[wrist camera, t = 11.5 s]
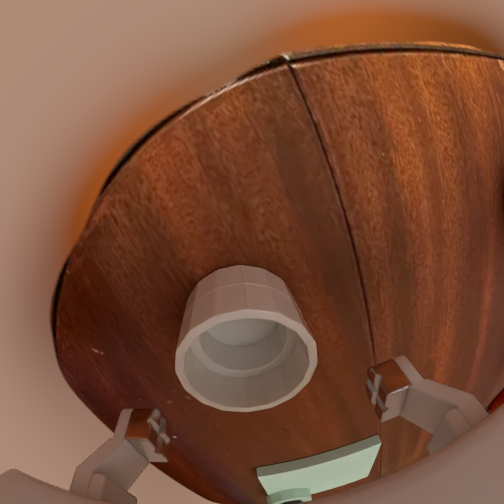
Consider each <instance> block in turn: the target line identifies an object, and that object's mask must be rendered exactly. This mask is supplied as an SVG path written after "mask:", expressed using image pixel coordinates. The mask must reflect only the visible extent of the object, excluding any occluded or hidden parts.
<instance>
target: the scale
mask: <svg viewBox="0 0 504 504" xmlns="http://www.w3.org/2000/svg"><path fill="white" fill-rule="evenodd" d="M380 445H381V441H380V439H379V437H378V435H375V436H372V437H370V438H367V439H364V440H362V441H359V442H356V443H353V444H350V445H347V446H344V447H341V448H338V449H335V450H332V451H329V452H325V453H322V454H318V455H314V456H311V457H307V458H303V459H298V460H294V461H289V462H285V463H280V464H274V465H269V466H263V467H257V468H256V470H257V477H258V479H259V480H260V482H261V484H262V486H263V487H264V489H265V491H266V492H267V494H268V497H267V504H281V503H284V502H288V501H293V500H301V503H302V502H306V501H311V500H312V498H311V494H314V493H318V492H321V491H325V490H329V489H332V488H335V487H339V486H342V485H345V484H348V483H351V482H354V481H356V480H359V479H362V478H365V477H367V476H368V474H369V472H370V470H371V468H372V465H373V463H374V460H375V458H376V456H377V453H378V451H379V448H380Z"/></svg>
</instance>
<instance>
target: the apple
mask: <svg viewBox="0 0 504 504" xmlns="http://www.w3.org/2000/svg"><path fill="white" fill-rule="evenodd" d="M503 403H504V391H502V392H501V393H500V394H499V395H498V396H497V397H496V399H495V400H494V401H493V403H492V405H491V411H490V414H491V413H492V412H494V411H495V410H496V409H497V408H498V407H500V406H501V405H502V404H503Z"/></svg>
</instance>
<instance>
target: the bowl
mask: <svg viewBox="0 0 504 504" xmlns="http://www.w3.org/2000/svg"><path fill="white" fill-rule="evenodd" d="M316 366H317V348H316V342H315V340H314V338H313V336H312V334H311V332H310V329H309V327H308V325H307V323H306V321H305V319H304V317H303V315H302V313H301V311H300V309H299V307H298V305H297V303H296V300H295V298H294V296H293V294H292V293H291V291H290V290H289V289H288V287H287V286H286V284H285V283H284V281H282V279H281V278H279V277H277V276H276V275H274V274H272V273H271V272H269V271H267V270H266V269H263V268H258V267H251V266H245V265H241V266H240V265H236V266H232V267H227V268H222V269H218V270H216V271H214V272H213V273H211V274H210V275H208V276H207V277H205V278H204V279H202V280H201V281H199V283H197V285H196V286H195V288H194V290H193V291H192V293H191V294H190V296H189V297H188V300H187V303H186V308H185V312H184V316H183V321H182V325H181V329H180V334H179V338H178V343H177V348H176V358H175V372H176V374H177V376H178V378H179V380H180V382H181V384H182V386H183V387H184V389H185V390H186V391H187V392H189V393H190V394H191V395H192V396H194V397H195V398H196V399H197V400H199V401H200V402H202V403H204V404H206V405H209V406H212V407H215V408H217V409H220V410H224V411H236V412H252V411H257V410H263V409H268V408H271V407H274V406H276V405H278V404H280V403H283V402H285V401H287V400H289V399H291V398H292V397H294V396H295V395H296V394H297V393H298V392H299V391H300V390H301V389H302V388H303V387H305V386H306V385H307V384H308V383H309V381H310V379H311V377H312V375H313V372H314V370H315V368H316Z"/></svg>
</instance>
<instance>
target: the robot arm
mask: <svg viewBox="0 0 504 504" xmlns="http://www.w3.org/2000/svg"><path fill="white" fill-rule="evenodd" d="M367 375H368V377H369V379H368V380H367V381H366V393H367V396H368V398H369V400H370V402H371V403H372V404H375V405H376V407H375V412H376V414H377V416H378V418H379V420H380V422H384V421H386V420H389V419H391V418H394V417H396V416H399V415H400V416H401V417H403V418H405V419H406V420H408V421H410V422H412V423H413V424H415V425H417V426H419V427H420V428H422V429H424V430H426V431H428V432H429V433H431V434H433V436H432V438H431V439H430V441H429V443H428V445H427V449H428V451H429V453H430V455H428V456H426V457H425V458H423V459H421V460H419V461H417V462H415V463H413V464H411V465H409V466H407V467H405V468H403V469H401V470H399V471H396V472H394V473H392V474H390V475H387V476H385V477H383V478H380V479H378V480H375V481H372V482H370V483H367V484H364V485H362V486H359V487H356V488H353V489H350V490H347V491H344V492H341V493H337V494H334V495H330V496H327V497H323V498H319V499H315V500H311V501H306V502H302V503H297V504H504V403H503V404H502V405H501V406H500V407H498V408H497V409H496V410H495V411H494V412H492V413H491V414H490V415H489V414H488V413H487V412H486V410H485V409H484V408H483V406H482V405H481V404H480V403H479V401H478V400H477V399H476V398H475V396H474V395H473V394H470V393H467V392H464V391H461V390H458V389H455V388H452V387H449V386H446V385H443V384H440V383H438V382H435V381H432V380H429V379H425V380H424V379H423V378H422V377H421V376H420V374H419V373H418V372H417V370H416V369H415V368H414V367H413V365H412V364H411V363H410V361H409V360H408V359H407V358H406V356H404V355H400V356H398V357H395V358H393V359H390V360H387V361H385V362H382V363H380V364H377V365H374V366H372V367H369V368H368V370H367ZM161 415H162V413H161V412H160V411H159V410H158V409H123V410H122V411H121V413H120V417H119V420H118V423H117V426H116V429H115V432H114V436H113V438H110V439H109V440H107V441H106V442H105V443H104V444H103V445H102V446H101V447H99V448H98V449H97V450H96V451H95V452H94V453H93V454H92V455H90V456H89V457H88V458H87V459H86V460H85V461H84V462H82V463H81V464H80V465H79V466H78V467H77V468H76V470H75V473H74V476H73V480H72V483H71V486H70V490H69V491H68V490H65V489H62V488H59V487H57V486H54V485H51V484H49V483H46V482H43V481H41V480H38V479H36V478H34V477H32V476H29V475H27V474H25V473H23V472H21V471H19V470H17V469H10V470H8V471H6V472H5V473H3V474H1V475H0V504H137V499H136V497H135V496H133V495H132V494H130V493H128V492H127V490H128V489H129V488H130V487H131V486H132V484H133V483H134V482H135V480H136V479H137V478H138V477H139V476H140V474H141V473H142V472H143V470H144V469H145V468H146V467H147V465H148V464H149V462H168V457H169V448H168V446H167V444H168V443H169V442H170V441H171V428H170V426H169V423H168V422H167V421H166V420H165V419H163V418H161Z"/></svg>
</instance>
